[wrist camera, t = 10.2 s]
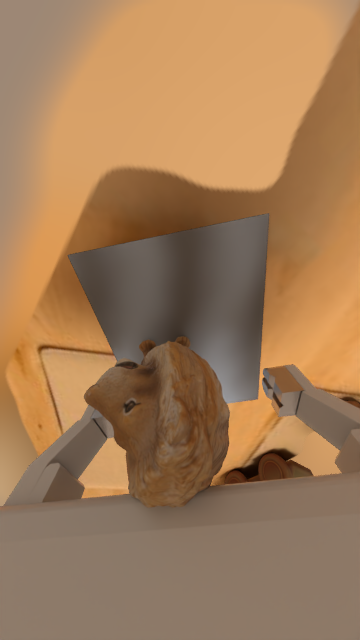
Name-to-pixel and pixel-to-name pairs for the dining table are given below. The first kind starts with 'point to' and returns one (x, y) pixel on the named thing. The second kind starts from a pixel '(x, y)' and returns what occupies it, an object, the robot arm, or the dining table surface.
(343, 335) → the dining table surface
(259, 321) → the stand
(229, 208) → the dining table surface
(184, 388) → the lion figurine
